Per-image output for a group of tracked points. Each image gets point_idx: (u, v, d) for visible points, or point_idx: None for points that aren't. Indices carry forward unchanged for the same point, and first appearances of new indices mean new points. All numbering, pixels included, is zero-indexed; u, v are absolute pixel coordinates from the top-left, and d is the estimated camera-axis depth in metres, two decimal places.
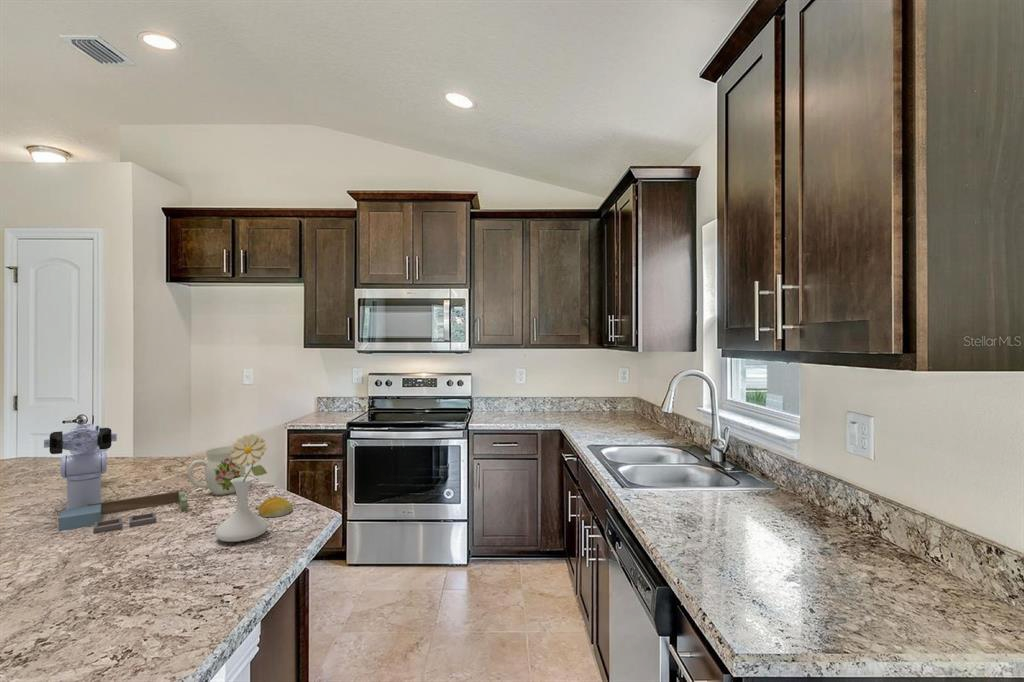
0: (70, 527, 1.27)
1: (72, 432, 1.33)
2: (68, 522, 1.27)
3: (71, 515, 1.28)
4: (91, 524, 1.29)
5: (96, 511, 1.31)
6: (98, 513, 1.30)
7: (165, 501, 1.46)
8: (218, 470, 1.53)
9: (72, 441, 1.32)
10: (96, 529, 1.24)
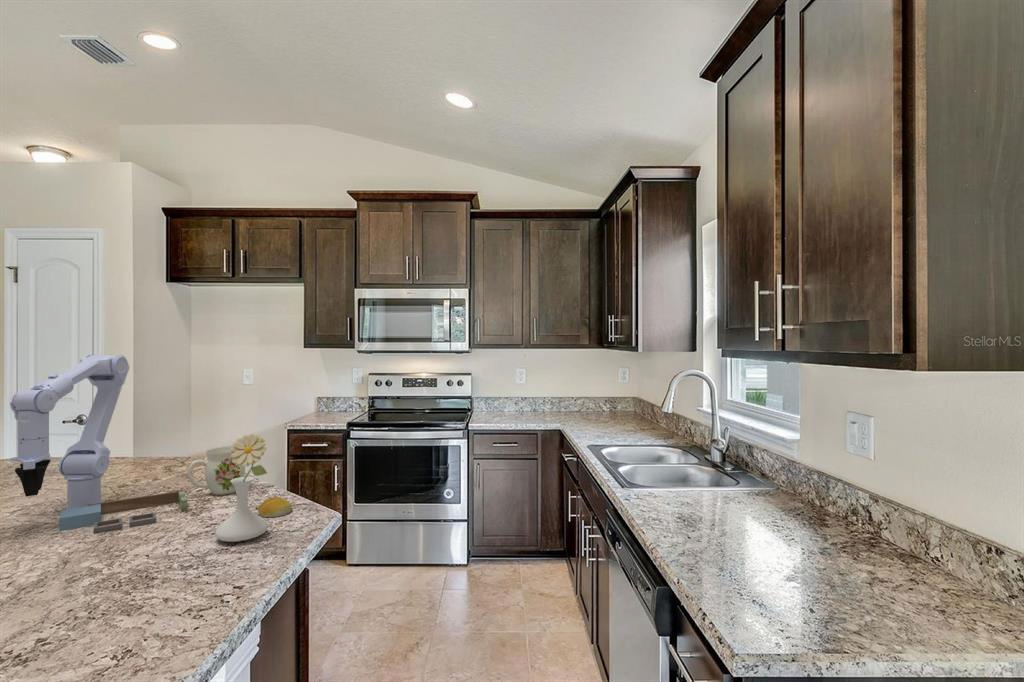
0: (70, 527, 1.27)
1: None
2: (68, 522, 1.27)
3: (71, 515, 1.28)
4: (91, 524, 1.29)
5: (96, 511, 1.31)
6: (98, 513, 1.30)
7: (165, 501, 1.46)
8: (218, 470, 1.53)
9: None
10: (96, 529, 1.24)
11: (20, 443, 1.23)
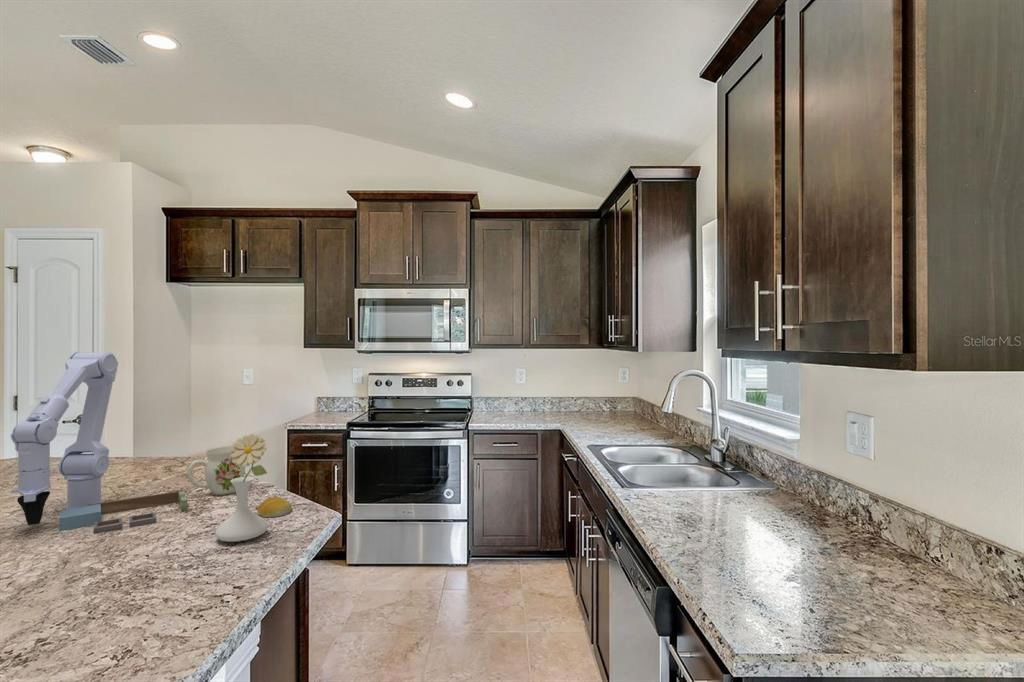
0: (71, 527, 1.27)
1: None
2: (69, 522, 1.27)
3: (72, 515, 1.28)
4: (92, 524, 1.30)
5: (97, 511, 1.31)
6: (99, 513, 1.31)
7: (165, 501, 1.46)
8: (218, 470, 1.53)
9: None
10: (96, 529, 1.24)
11: (21, 475, 1.23)
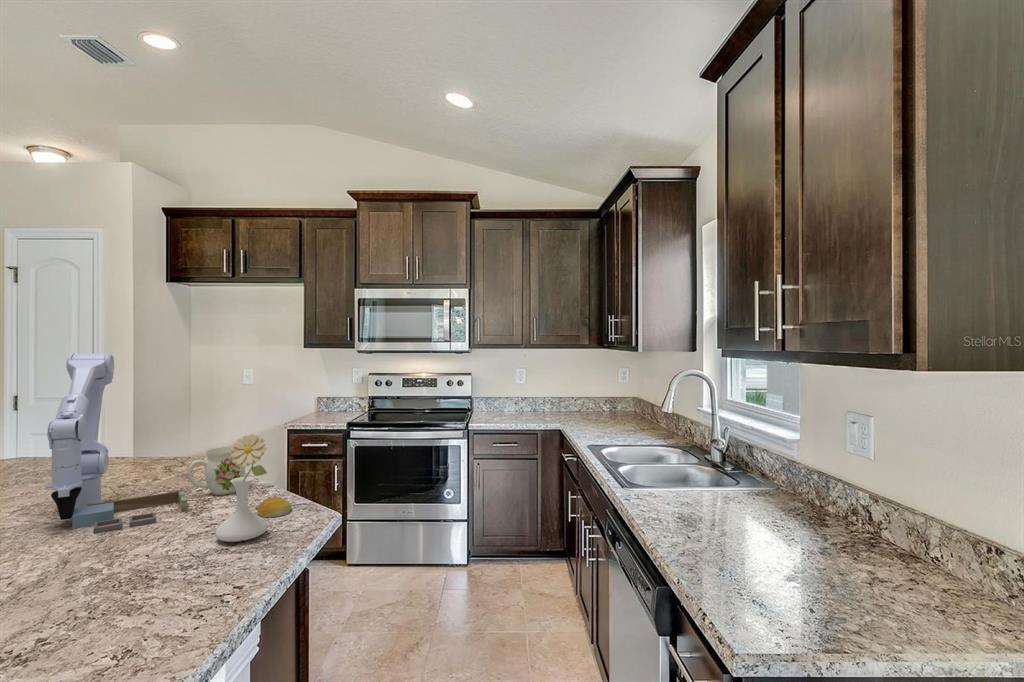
0: (83, 525, 1.28)
1: None
2: (81, 520, 1.28)
3: (84, 513, 1.29)
4: None
5: (109, 509, 1.32)
6: (111, 511, 1.32)
7: (165, 501, 1.46)
8: (218, 470, 1.53)
9: None
10: (96, 529, 1.24)
11: (54, 471, 1.27)
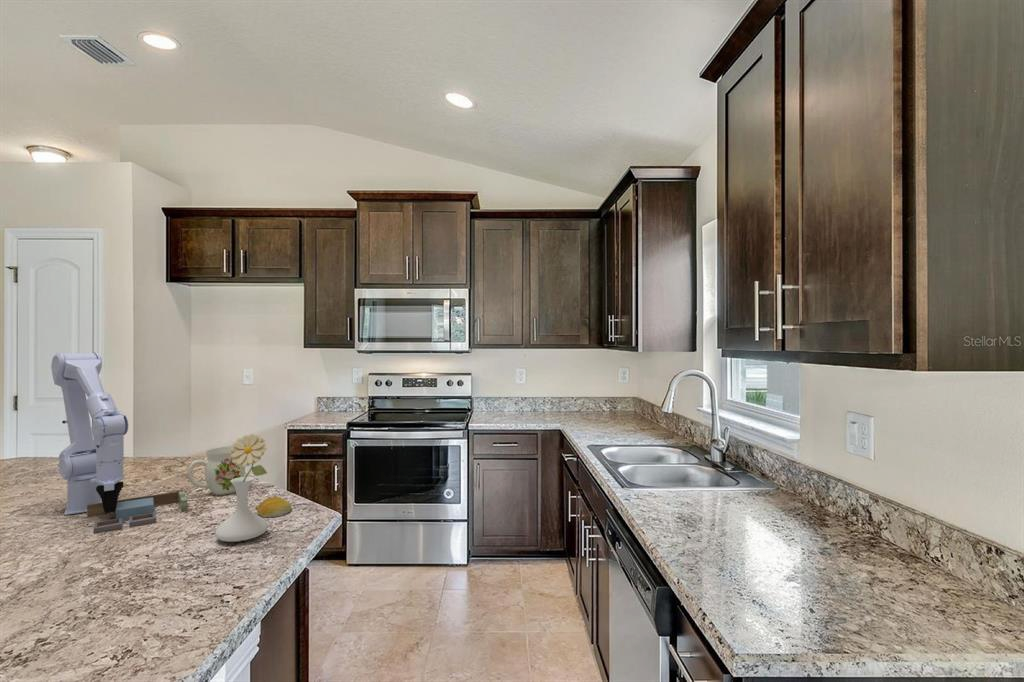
0: (126, 519, 1.33)
1: None
2: (124, 514, 1.33)
3: (127, 507, 1.34)
4: None
5: (150, 504, 1.37)
6: (152, 506, 1.36)
7: (165, 501, 1.46)
8: (218, 470, 1.53)
9: None
10: (96, 529, 1.24)
11: (99, 466, 1.32)
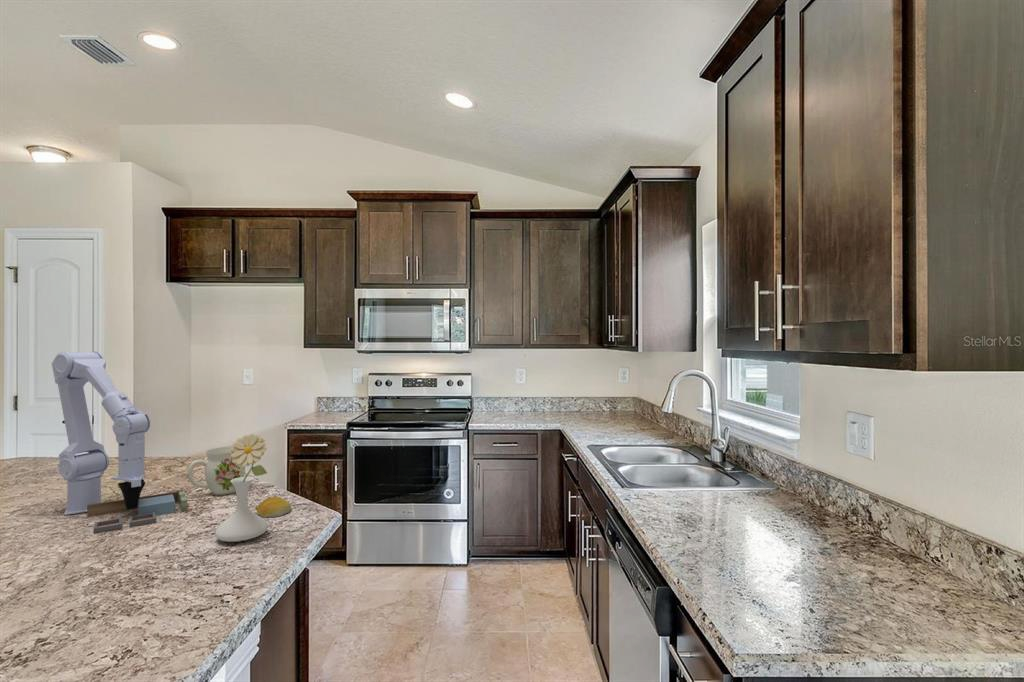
0: None
1: None
2: (146, 511, 1.36)
3: (149, 504, 1.37)
4: (167, 512, 1.38)
5: (171, 500, 1.40)
6: (173, 502, 1.39)
7: None
8: (218, 470, 1.53)
9: None
10: (96, 529, 1.24)
11: (123, 463, 1.35)
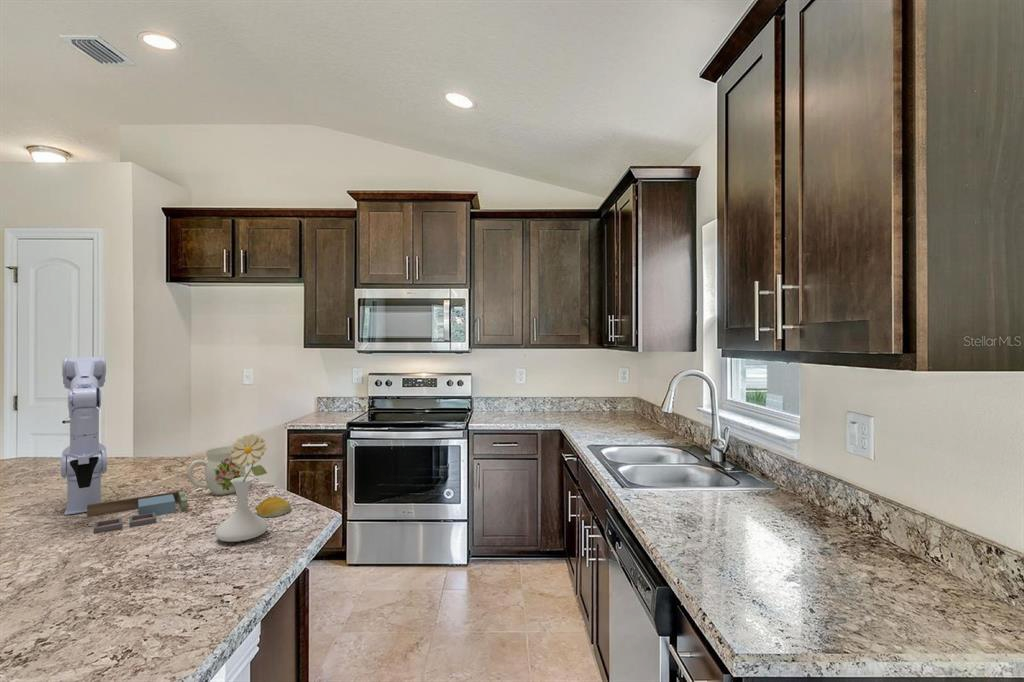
0: None
1: None
2: (147, 510, 1.36)
3: (149, 504, 1.37)
4: (167, 512, 1.38)
5: (171, 500, 1.40)
6: (173, 502, 1.39)
7: None
8: (218, 470, 1.53)
9: None
10: (96, 529, 1.24)
11: (73, 439, 1.28)
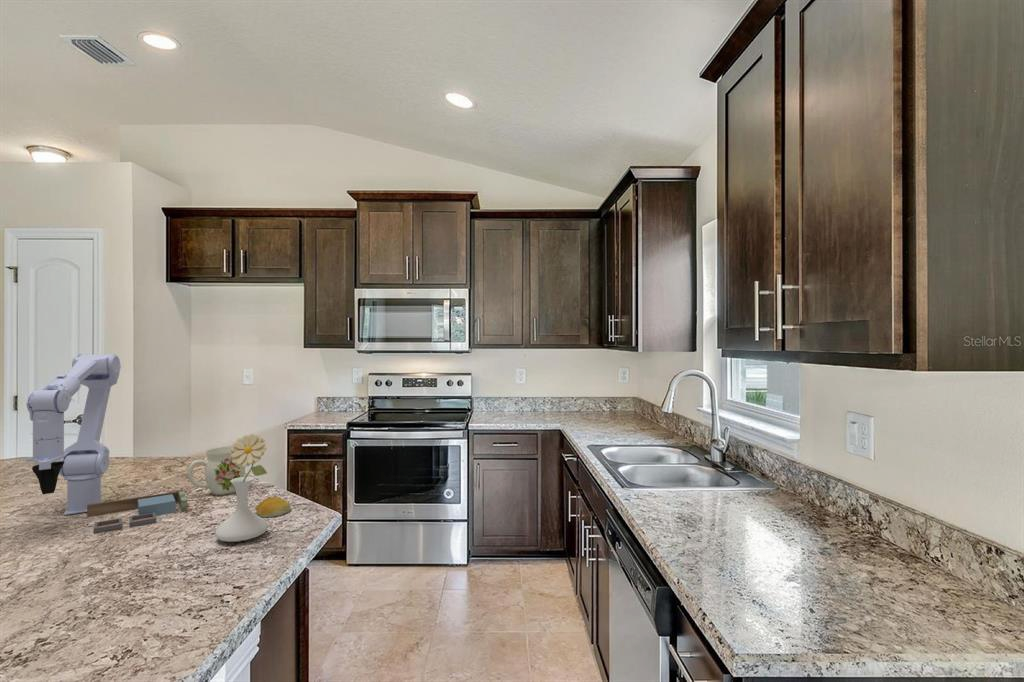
0: None
1: None
2: (147, 510, 1.36)
3: (150, 504, 1.37)
4: (167, 512, 1.38)
5: (171, 500, 1.40)
6: (173, 502, 1.39)
7: None
8: (218, 470, 1.53)
9: None
10: (96, 529, 1.24)
11: (35, 443, 1.23)
